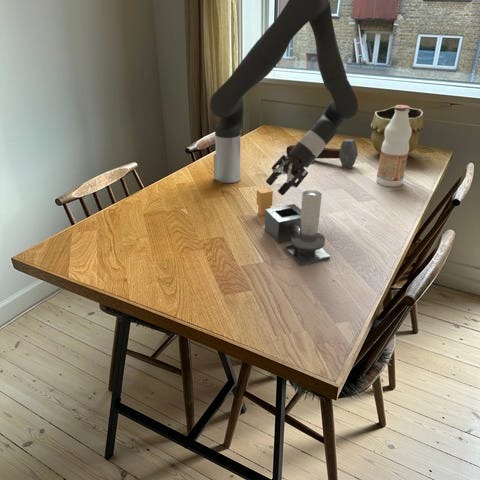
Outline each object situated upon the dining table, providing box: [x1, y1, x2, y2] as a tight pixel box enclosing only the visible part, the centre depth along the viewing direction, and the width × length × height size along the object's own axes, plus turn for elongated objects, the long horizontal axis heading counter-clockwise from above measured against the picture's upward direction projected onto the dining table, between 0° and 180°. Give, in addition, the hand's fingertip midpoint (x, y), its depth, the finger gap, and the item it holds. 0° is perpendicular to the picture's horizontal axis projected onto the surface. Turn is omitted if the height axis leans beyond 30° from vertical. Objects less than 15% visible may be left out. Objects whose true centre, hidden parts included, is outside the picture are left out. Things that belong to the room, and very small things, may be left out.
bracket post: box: [264, 189, 331, 267], centre depth 120 cm, size 21×10×18 cm, turn 22°
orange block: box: [256, 187, 273, 216], centre depth 140 cm, size 3×4×8 cm
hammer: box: [285, 138, 359, 170], centre depth 182 cm, size 5×11×30 cm
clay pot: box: [370, 106, 424, 155], centre depth 185 cm, size 21×21×20 cm
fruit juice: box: [376, 104, 412, 188], centre depth 158 cm, size 9×9×28 cm
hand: (273, 188), depth 139 cm, fingers open, 8 cm apart
